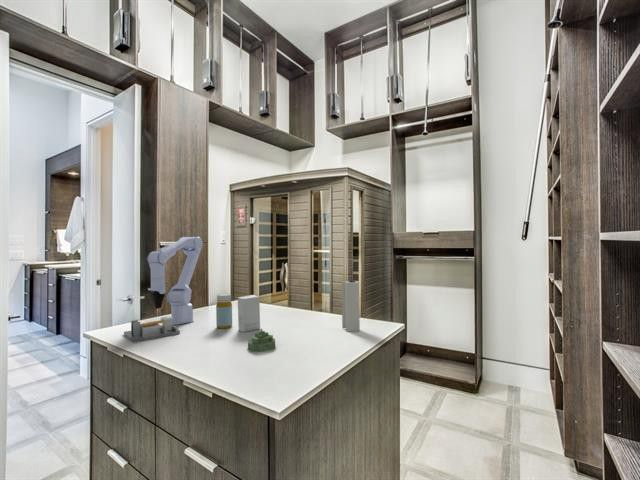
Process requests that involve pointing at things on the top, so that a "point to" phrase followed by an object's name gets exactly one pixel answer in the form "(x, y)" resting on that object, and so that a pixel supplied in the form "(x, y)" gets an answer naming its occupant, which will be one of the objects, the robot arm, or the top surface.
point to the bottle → (224, 311)
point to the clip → (167, 323)
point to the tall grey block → (350, 306)
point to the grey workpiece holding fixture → (148, 332)
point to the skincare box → (248, 313)
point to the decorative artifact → (261, 342)
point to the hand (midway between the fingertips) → (158, 308)
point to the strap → (150, 323)
